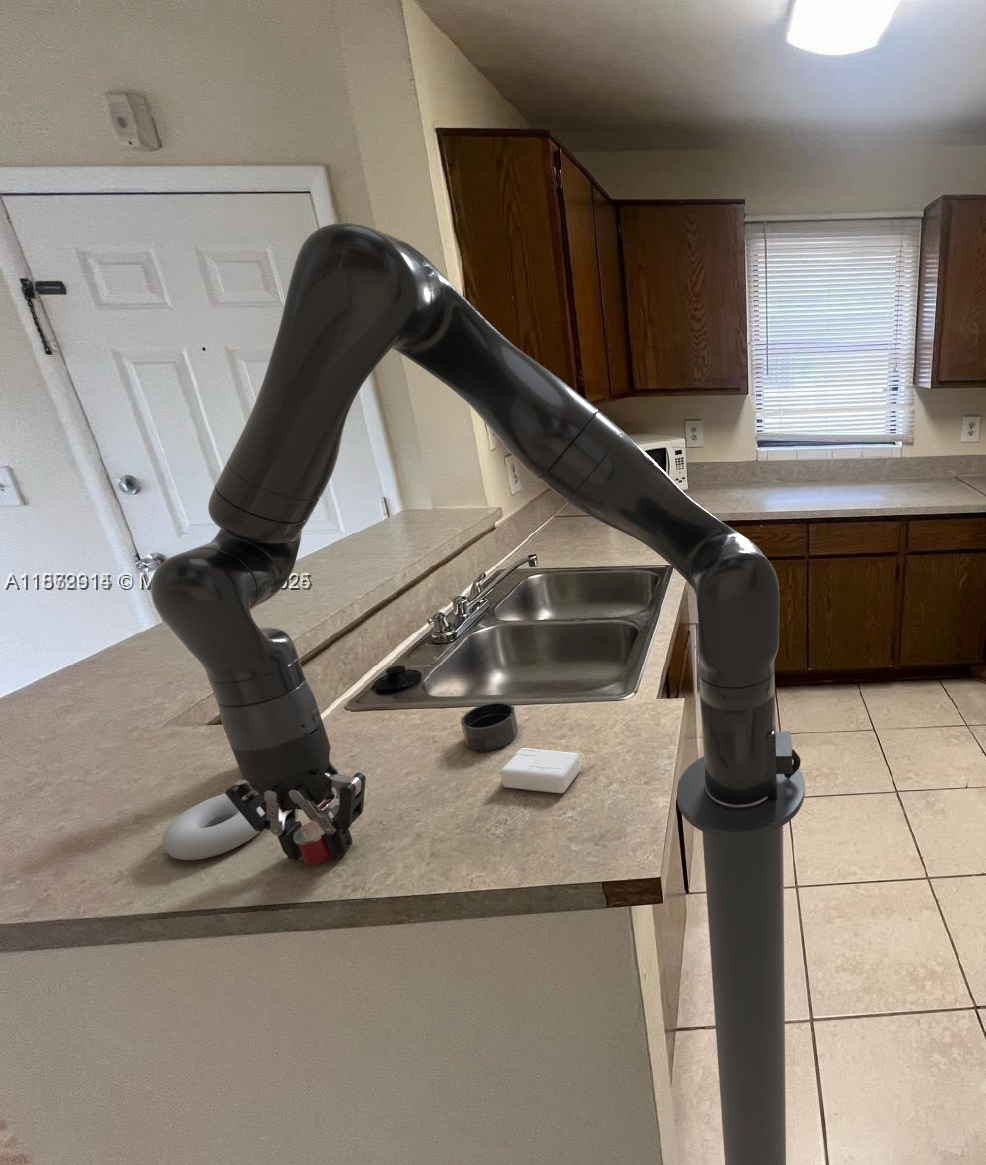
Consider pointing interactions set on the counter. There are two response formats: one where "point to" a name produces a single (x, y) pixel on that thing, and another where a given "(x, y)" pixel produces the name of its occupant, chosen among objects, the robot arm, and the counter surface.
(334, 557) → the counter surface
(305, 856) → the pod
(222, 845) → the donut
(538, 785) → the soap
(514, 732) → the bowl
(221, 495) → the robot arm
